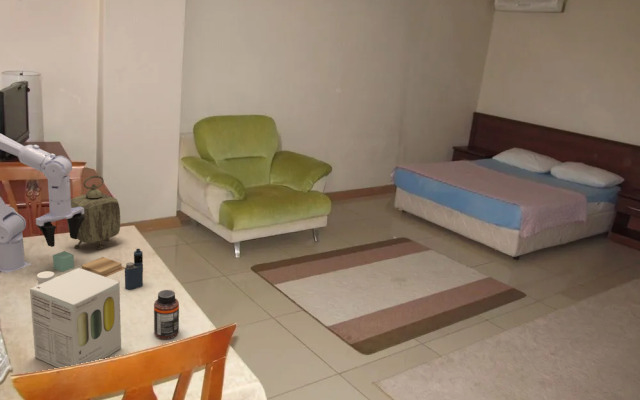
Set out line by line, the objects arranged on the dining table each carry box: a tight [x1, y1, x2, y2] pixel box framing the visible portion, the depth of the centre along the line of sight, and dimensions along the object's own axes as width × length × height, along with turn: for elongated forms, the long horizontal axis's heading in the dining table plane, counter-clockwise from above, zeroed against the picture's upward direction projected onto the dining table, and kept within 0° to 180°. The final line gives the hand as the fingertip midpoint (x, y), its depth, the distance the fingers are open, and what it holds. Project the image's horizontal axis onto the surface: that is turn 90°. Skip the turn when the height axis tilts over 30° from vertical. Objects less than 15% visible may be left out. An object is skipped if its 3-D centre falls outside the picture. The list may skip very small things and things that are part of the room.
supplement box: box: [29, 267, 122, 368], centre depth 119 cm, size 13×13×18 cm
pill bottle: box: [34, 270, 55, 287], centre depth 137 cm, size 5×5×10 cm
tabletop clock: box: [66, 175, 121, 250], centre depth 173 cm, size 14×9×25 cm, turn 144°
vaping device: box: [124, 248, 144, 291], centre depth 151 cm, size 3×5×12 cm, turn 137°
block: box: [52, 250, 75, 273], centre depth 159 cm, size 4×4×5 cm
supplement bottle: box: [153, 289, 180, 340], centre depth 130 cm, size 6×6×11 cm
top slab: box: [81, 256, 123, 276], centre depth 161 cm, size 8×8×2 cm
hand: (62, 242), depth 157 cm, fingers open, 7 cm apart
